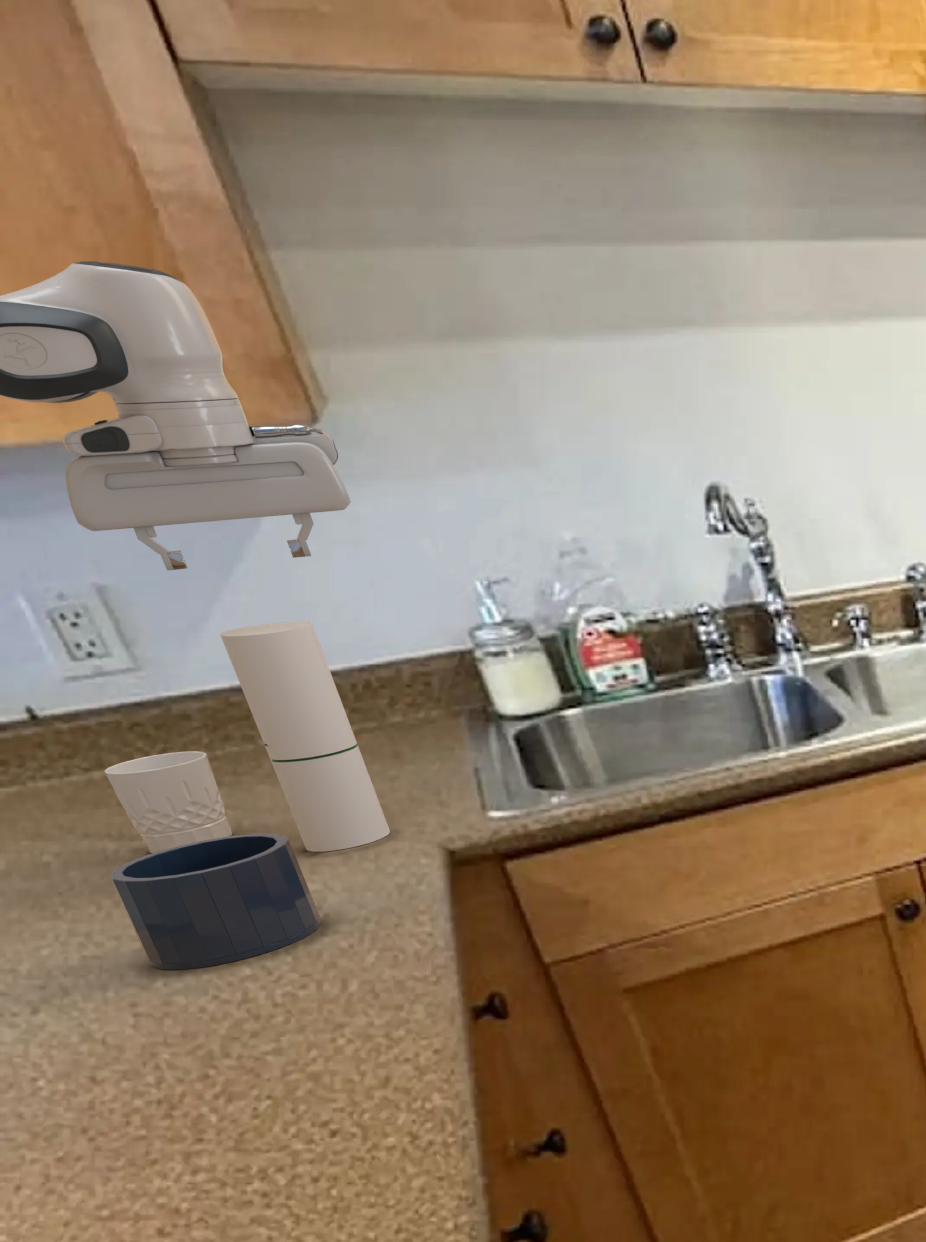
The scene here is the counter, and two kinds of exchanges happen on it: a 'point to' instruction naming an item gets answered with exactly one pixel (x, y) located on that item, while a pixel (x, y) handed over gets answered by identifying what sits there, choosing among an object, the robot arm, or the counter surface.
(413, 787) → the counter surface
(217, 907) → the crock
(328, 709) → the cylindrical container
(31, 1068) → the counter surface
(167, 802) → the white cup
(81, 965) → the counter surface
